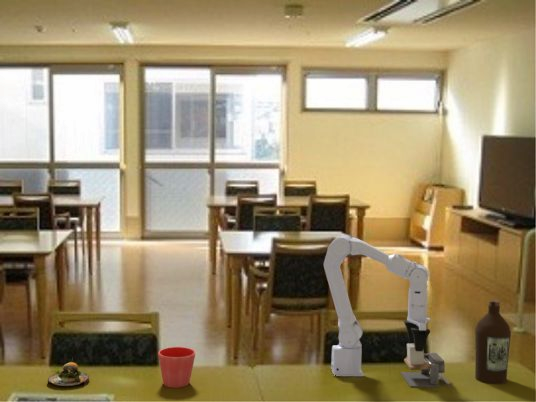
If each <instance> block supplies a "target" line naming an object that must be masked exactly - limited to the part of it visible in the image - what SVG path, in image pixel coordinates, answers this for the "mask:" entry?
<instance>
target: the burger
mask: <svg viewBox="0 0 536 402" xmlns="http://www.w3.org/2000/svg"><path fill="white" fill-rule="evenodd" d="M71 358H72V359H71V360H73V357H71ZM89 382H90V376H89V374H88V373H86V372H82V371H81V370H79V365H78V364H77V363H76V362H73V361H70V362H68V363H65V364H64V365H63V366H62V370H61V371H59V370H57V371H56V370H55V373H54V374H52V375H50V376H49V377H48V378H47V383H48V384H49V383H51V384H53V385H55V386H60V387H69V386H76V385H80V384H83V385H84V386H87V384H89Z"/></svg>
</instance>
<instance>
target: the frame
mask: <svg viewBox="0 0 536 402" xmlns="http://www.w3.org/2000/svg"><path fill="white" fill-rule="evenodd" d="M424 359H425V360H426V361H427V362H428V363H429V364H430V369H420V372H421V374H430V382H429V384H430V385H439V380H440V381H441V382H442V383H443V384H444V385H445V387H447V388H448V387H449V388H450V387H451V383H450V381H449V380H448V379H447V377H445V376H444V375H443V373H439V364H432V363H431V362H430V361H429V360H428V353H424Z"/></svg>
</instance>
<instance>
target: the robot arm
mask: <svg viewBox="0 0 536 402" xmlns="http://www.w3.org/2000/svg"><path fill="white" fill-rule="evenodd" d="M350 253H351V255H350ZM348 255H350V256H357V255H363V256H365V257H368V258H370V259H372V260H374V261H377V262H378V263H381V264H383V265H384V266H385V268H386V270H387V271H389V272H391V273H392V274H394V275H396V276H398V277H400V278H403V280H408V282H409V289H408V300H407V301H408V302H407V303H408V305H407V306H408V307H407V318H406V320H405V321H403V324H404V325H405V328H406V332H407V337H408V338H407V339H408V344H411V343H414V345H415V350H416V351H423V349H424V348H425V344H426V341H427V338H428V337H429V335H430V333H431V329H429V328H427V323H428V322H431V318H429V317H428V293H429V290H428V287H429V286H428V280H429V270H428V268H427V266H425V265H423V264H419V263H418V262H417V261H411V260H409V259H407V258H405V257H404V254H401V253H398V254H397V253H392V254H388V253H386V252H384V251H382V250H380V249H378V248H377V247H375V246H373V245H371V244H369V243H367V242H365V241H364V240H361V239H359V238H357V237H352V236H351V235H349V234H341V235H339V236H338V237H336V238H334V239H333V240H332V241H331V243H330V244H329V245H328V246H327V251H326V254H325V258H324V261H323V268H324V272H325V276H326V280H327V282H328V283H327V284H328V286H329V290H330V293H331V297H332V300H333V305H334V308H335V312H336V315H337V321H338V322H337V323H338V324H337V327H338V338H337V339H338V341H339V342H338V344H337V345H335V344H334V345H332V346H331V362H330V370H331V369H332V370H331V372H332V374H334V375H333V376H334V377H364V372H363V370H362V346H363V345H362V342H361V341H360V339H361V338H362V336H363V332H364V331H363V328H362V326H361V325H360V323H359V322H358V320H357V317H356V316H355V314H354V312H353V308H352V304H351V301H350V298H349V294H348V290H347V286H346V284H345V283H346V282H345V280H344V276H343V273H342V270H341V264H343V262H344V260H345V258H346V257H347V256H348ZM335 375H336V376H335Z"/></svg>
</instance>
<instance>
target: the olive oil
mask: <svg viewBox="0 0 536 402" xmlns="http://www.w3.org/2000/svg"><path fill="white" fill-rule="evenodd" d="M488 303H489V304H488V306H487V307H488V308H487V309H488V310H487V311H488V312H486V314H485V315H484V316H483V317H482V318H480V320H478V321H477V324H476V326H475V329H474V330H475V333H474V336H475V337H474V339H475V341H474V342H475V344H474V345H475V347H474V348H475V350H474V351H475V366H474V367H475V369H474V371H475V379H476V380H477V381H479V382H482V383H484V384H490V385H503V384H505V383H506V382H507V381H508V367H509V358H510V357H509V356H510V346H511V345H510V344H511V336H512V335H511V333H512V331H511V328H510V325H509V323H508V322H507V321H506V320H505V318H504V317H503V316H502V314H501V313H500V308H501V306H500V303H501V302H500V301H499V300H496V299H495V300H493V299H491V300H489V301H488Z"/></svg>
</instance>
